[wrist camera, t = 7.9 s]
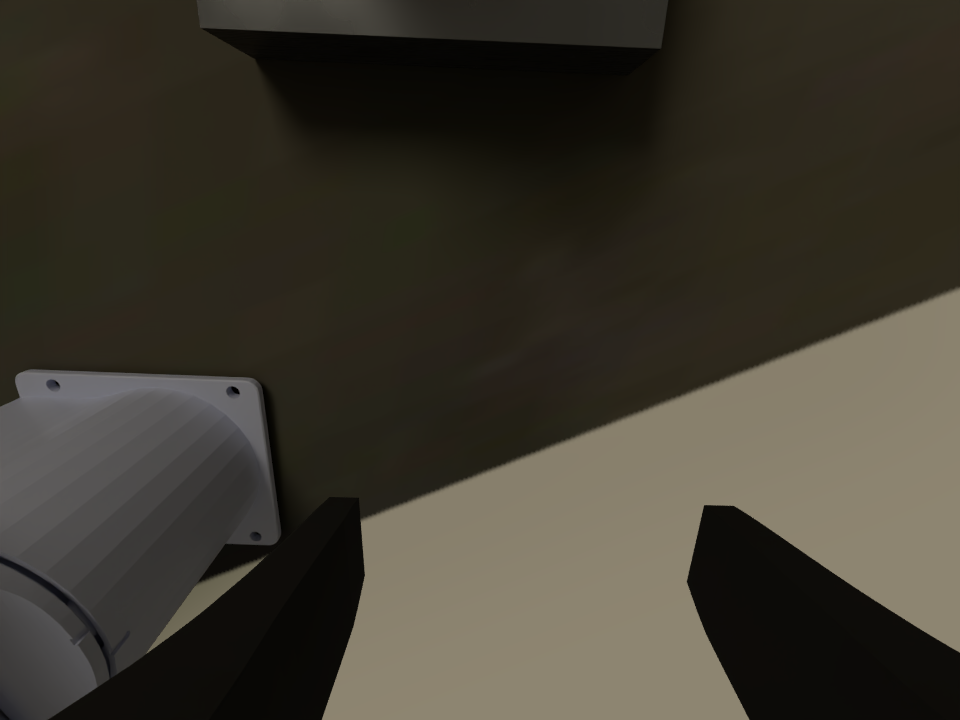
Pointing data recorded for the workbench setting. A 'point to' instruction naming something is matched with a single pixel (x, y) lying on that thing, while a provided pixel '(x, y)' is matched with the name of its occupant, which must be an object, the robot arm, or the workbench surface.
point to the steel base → (445, 32)
